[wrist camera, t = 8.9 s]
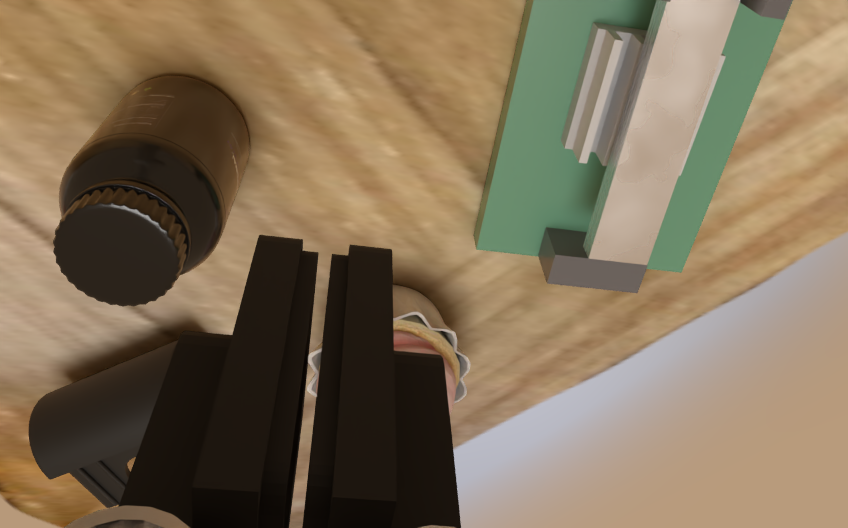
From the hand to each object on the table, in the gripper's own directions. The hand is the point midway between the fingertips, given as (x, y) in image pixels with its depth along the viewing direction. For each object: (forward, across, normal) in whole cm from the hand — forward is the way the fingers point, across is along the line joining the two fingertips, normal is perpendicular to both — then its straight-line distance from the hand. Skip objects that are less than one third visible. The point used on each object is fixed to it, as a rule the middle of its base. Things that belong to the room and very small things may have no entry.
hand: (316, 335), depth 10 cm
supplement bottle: (+29, +8, +11) cm, 32 cm away
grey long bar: (+25, -14, +5) cm, 29 cm away
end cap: (+29, +10, +28) cm, 42 cm away
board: (+29, -14, +5) cm, 33 cm away
